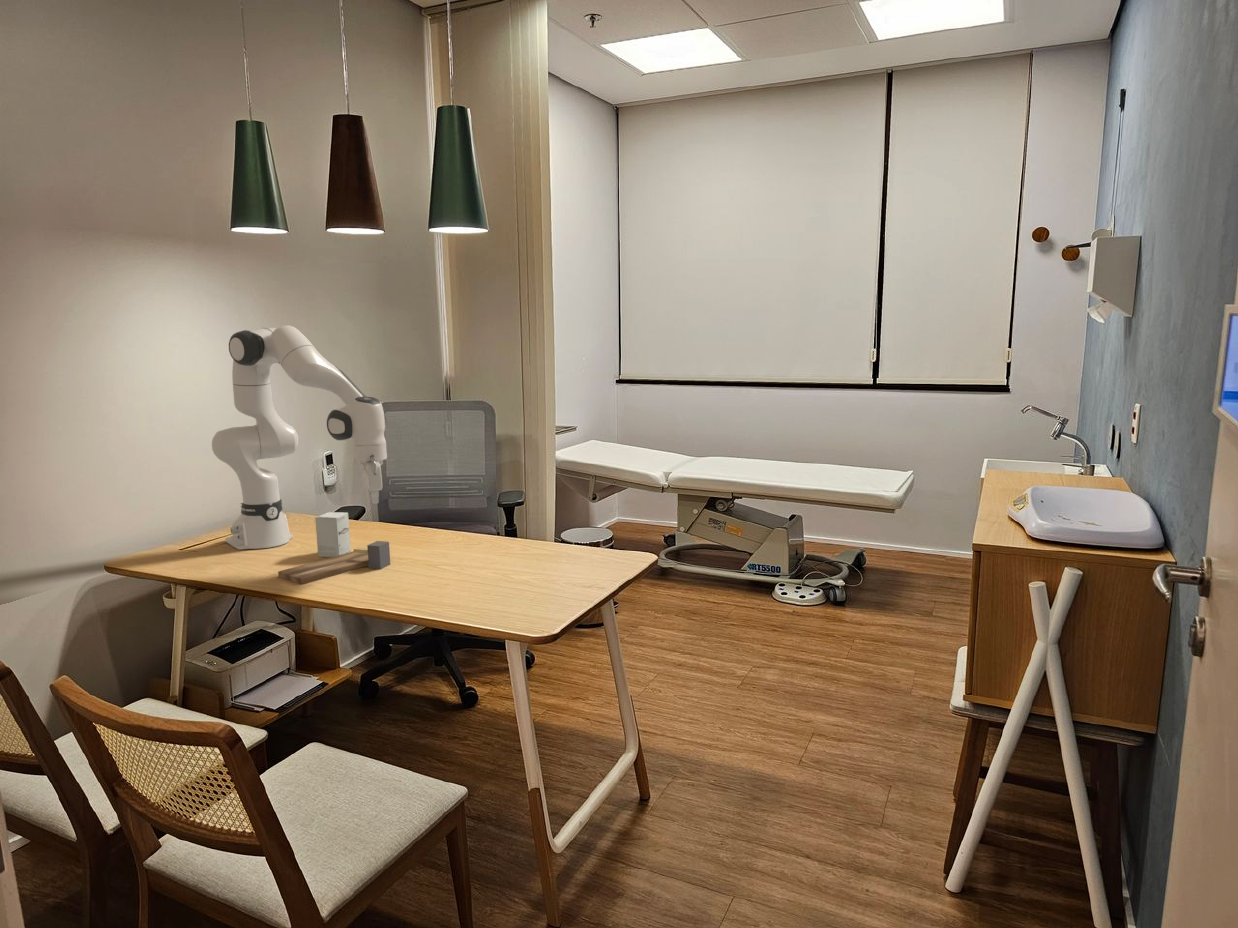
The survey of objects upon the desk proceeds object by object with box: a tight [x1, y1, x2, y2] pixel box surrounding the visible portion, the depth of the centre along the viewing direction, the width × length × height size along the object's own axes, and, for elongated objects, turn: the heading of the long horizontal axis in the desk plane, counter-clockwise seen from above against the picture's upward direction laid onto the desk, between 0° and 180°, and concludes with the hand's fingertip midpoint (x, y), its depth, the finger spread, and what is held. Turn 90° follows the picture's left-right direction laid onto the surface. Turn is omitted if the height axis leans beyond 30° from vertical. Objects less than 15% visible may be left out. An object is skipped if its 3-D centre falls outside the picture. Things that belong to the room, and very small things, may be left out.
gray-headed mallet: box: [353, 540, 391, 570], centre depth 239 cm, size 10×5×7 cm, turn 73°
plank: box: [277, 550, 369, 586], centre depth 237 cm, size 12×28×2 cm, turn 142°
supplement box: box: [314, 511, 352, 558], centre depth 251 cm, size 7×7×13 cm
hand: (373, 499), depth 236 cm, fingers open, 8 cm apart
